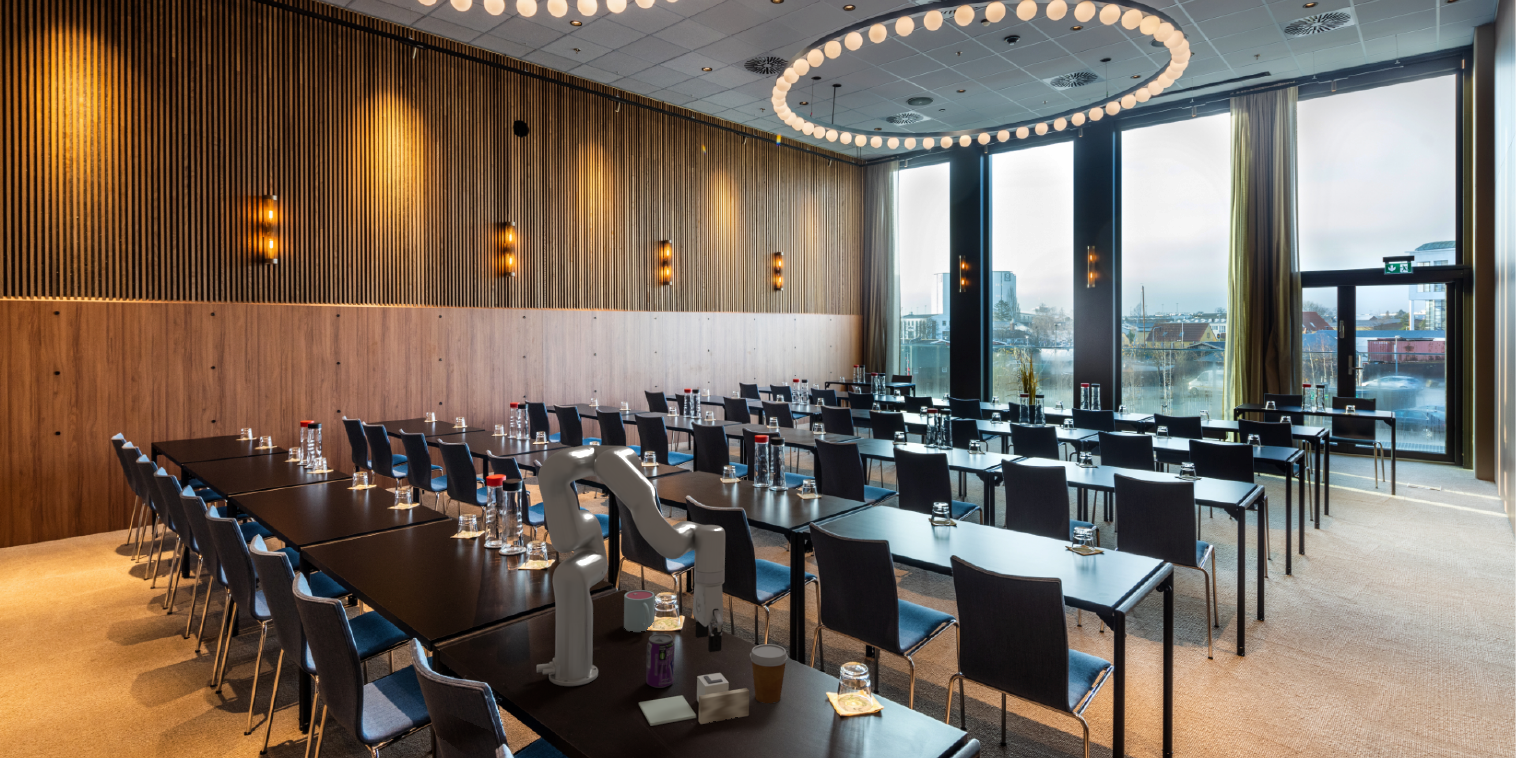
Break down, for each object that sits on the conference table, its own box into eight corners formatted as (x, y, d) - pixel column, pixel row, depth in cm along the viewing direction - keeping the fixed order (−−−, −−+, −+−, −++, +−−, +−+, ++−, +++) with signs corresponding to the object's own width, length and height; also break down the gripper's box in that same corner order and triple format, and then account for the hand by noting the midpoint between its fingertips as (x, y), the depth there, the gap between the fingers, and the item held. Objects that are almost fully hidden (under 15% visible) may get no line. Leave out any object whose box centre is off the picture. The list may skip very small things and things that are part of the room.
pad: (650, 725, 176) (650, 723, 176) (638, 704, 186) (638, 702, 186) (696, 717, 180) (696, 715, 180) (682, 697, 190) (682, 695, 190)
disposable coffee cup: (774, 710, 185) (775, 661, 184) (741, 700, 190) (742, 652, 189) (793, 695, 193) (795, 648, 192) (761, 686, 198) (762, 640, 197)
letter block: (704, 710, 184) (705, 685, 183) (696, 700, 189) (697, 675, 189) (728, 706, 186) (728, 681, 186) (719, 696, 191) (720, 671, 191)
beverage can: (668, 691, 194) (669, 644, 193) (642, 688, 195) (643, 641, 195) (677, 679, 201) (678, 634, 200) (651, 676, 202) (652, 631, 201)
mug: (620, 623, 240) (621, 592, 239) (649, 619, 244) (649, 588, 243) (632, 639, 227) (633, 605, 227) (662, 634, 231) (662, 602, 231)
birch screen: (700, 724, 177) (701, 698, 177) (698, 721, 179) (699, 695, 178) (748, 715, 182) (749, 690, 182) (746, 712, 183) (746, 687, 183)
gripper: (684, 567, 196) (683, 633, 197) (706, 587, 181) (705, 659, 181) (711, 565, 199) (710, 629, 200) (736, 584, 184) (734, 654, 184)
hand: (708, 643), depth 191 cm, fingers open, 9 cm apart
